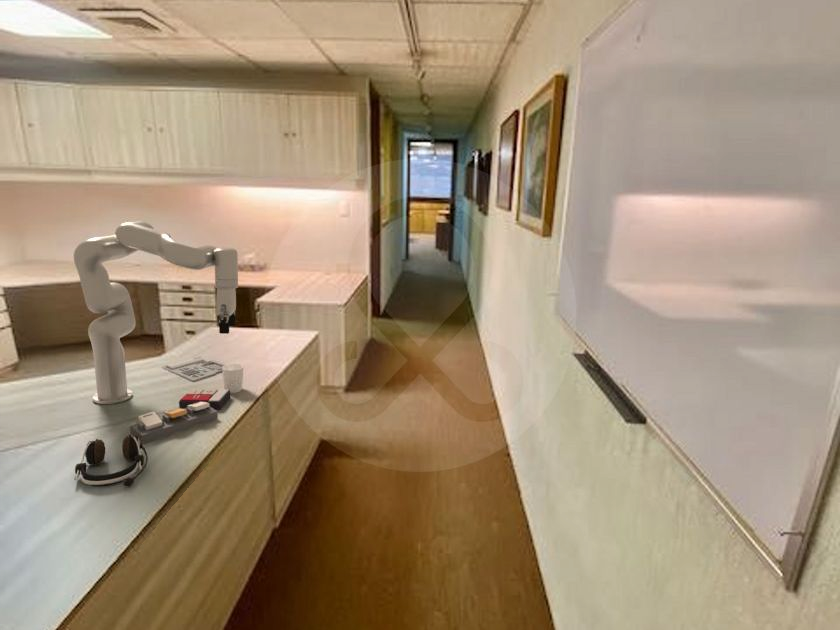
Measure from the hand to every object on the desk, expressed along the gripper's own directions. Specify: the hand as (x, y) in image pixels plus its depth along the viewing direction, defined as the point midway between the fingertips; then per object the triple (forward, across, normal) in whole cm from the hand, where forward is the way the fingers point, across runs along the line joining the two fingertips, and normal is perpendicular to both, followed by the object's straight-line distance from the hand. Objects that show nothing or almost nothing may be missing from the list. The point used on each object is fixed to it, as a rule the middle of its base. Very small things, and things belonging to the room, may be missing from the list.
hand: (227, 329), depth 172 cm
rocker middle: (+25, +16, -14) cm, 33 cm away
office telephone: (+31, -38, -22) cm, 53 cm away
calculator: (+31, -3, -9) cm, 32 cm away
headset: (+31, +43, -22) cm, 57 cm away
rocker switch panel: (+30, +16, -14) cm, 37 cm away
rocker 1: (+25, +22, -20) cm, 39 cm away
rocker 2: (+25, +11, -8) cm, 29 cm away
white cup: (+30, -15, -2) cm, 34 cm away
